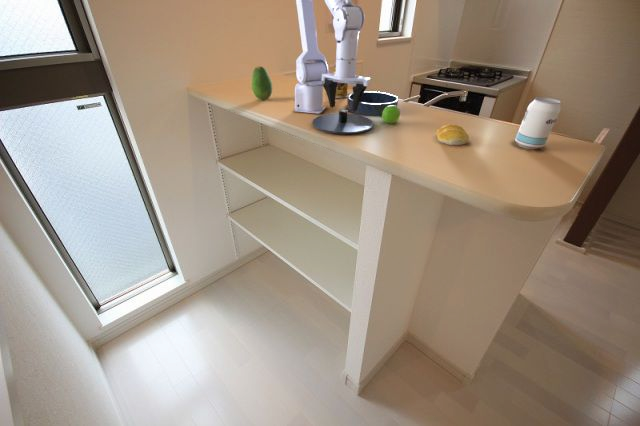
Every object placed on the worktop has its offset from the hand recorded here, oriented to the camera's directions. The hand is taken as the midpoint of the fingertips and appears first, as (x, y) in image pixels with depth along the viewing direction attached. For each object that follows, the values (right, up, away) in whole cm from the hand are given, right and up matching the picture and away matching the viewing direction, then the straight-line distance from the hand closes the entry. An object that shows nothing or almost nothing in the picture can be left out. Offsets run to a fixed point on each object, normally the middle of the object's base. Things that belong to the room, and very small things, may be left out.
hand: (343, 108), depth 91 cm
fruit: (-30, +13, +28) cm, 43 cm away
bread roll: (+30, -11, -7) cm, 33 cm away
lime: (+15, -1, +4) cm, 16 cm away
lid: (0, -4, +3) cm, 5 cm away
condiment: (+1, +18, +35) cm, 40 cm away
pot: (+12, +7, +19) cm, 23 cm away
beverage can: (+50, -14, -9) cm, 52 cm away
